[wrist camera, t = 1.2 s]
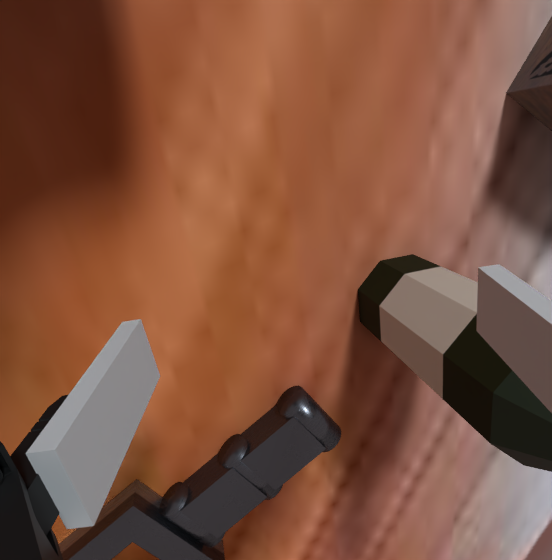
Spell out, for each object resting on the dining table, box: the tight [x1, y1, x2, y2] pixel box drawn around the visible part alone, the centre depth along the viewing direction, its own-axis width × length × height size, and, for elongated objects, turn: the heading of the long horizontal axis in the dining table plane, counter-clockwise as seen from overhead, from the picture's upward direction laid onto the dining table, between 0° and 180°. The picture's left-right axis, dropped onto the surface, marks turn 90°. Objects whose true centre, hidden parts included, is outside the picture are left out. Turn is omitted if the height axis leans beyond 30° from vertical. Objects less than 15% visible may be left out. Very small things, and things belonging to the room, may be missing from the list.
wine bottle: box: [358, 254, 552, 471], centre depth 23 cm, size 8×8×30 cm
